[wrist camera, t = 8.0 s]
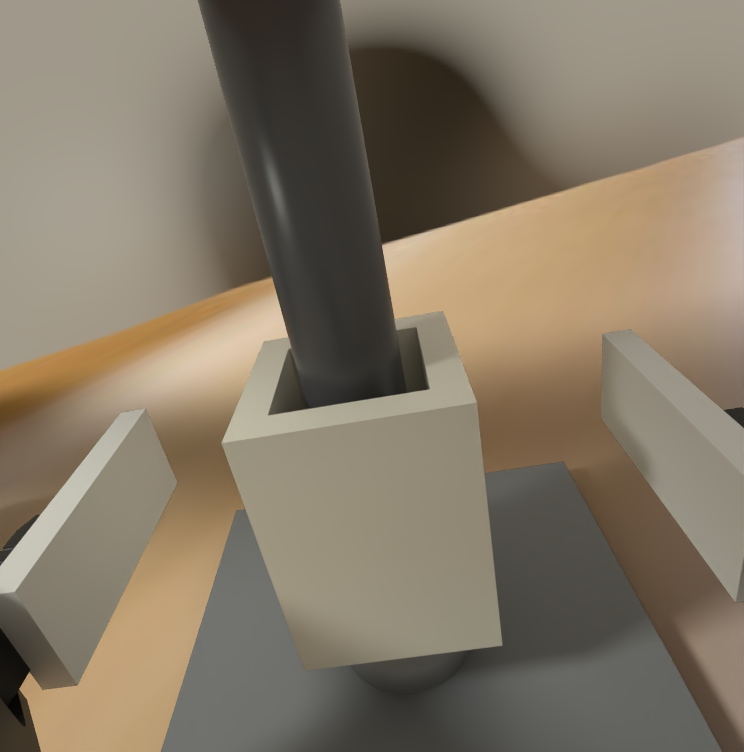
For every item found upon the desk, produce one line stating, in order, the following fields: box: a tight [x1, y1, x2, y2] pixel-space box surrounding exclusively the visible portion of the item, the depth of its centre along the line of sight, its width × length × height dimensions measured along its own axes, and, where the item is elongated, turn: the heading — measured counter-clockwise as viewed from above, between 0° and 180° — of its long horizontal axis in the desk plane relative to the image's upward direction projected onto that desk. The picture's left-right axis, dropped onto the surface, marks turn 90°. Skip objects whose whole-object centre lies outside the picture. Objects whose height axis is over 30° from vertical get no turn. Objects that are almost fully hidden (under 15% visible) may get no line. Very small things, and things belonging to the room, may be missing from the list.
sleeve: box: [221, 311, 503, 671], centre depth 14 cm, size 5×5×7 cm
